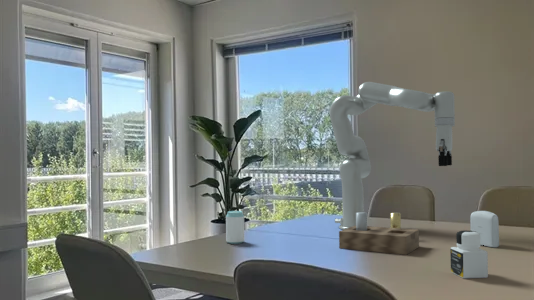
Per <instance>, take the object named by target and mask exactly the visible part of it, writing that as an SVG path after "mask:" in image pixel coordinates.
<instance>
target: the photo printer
mask: <svg viewBox="0 0 534 300" xmlns="http://www.w3.org/2000/svg"><path fill="white" fill-rule="evenodd" d="M469 220H470V225H469V226H470V230H469V231H476V232H478V233H479V234H480V246H483V245H484V246H483V247H489V248H498V247H499V246H500V229H499V228H500V227H499V217H498V215H497V214H495V213H494V212H491V211H487V210H477V211H473V212H471V214H470V217H469Z"/></svg>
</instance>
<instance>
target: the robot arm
mask: <svg viewBox="0 0 534 300" xmlns="http://www.w3.org/2000/svg"><path fill="white" fill-rule="evenodd" d="M377 104H381V105H385V106H391V107H401V108H405V109H411V110H416V111H420V112H425V113H430V112H434V127H436V131H435V150H436V151H437V152H438V158H437V159H438V166H439V167H448V166H452V165H453V164H452V163H453V161H452V160H453V159H452V158H453V156H452V150H453V127H456V126H455V125H456V121H455V120H456V117H455V115H456V114H455V93H454V92H452V91H438V92H435V93H428V92H425V91H420V90H414V89H408V88H402V87H398V86H396V85H391V84H385V83H379V82H374V81H365V82H363V83H362V84H360V85H359V87H358V94H357V95H356V96H352V95H347V94H346V95H340V96H337V97H336V98H335V99H334V100H333V102H332V103H331V105H330V108H329V119H330V123H331V126H332V130H333V134H334V139H335V143H336V148H337V151H338V152H339V153H338V154H340V155H342V156H345V157H348V158H346V159H345V160H343V161H342V163H341V164H340V168H339V175H340V180H341V195H342V199H341V200H342V201H341V203H342V207H341V208H342V217H341V218H335V219H334V223H335V224H340V225H338V227H339V229H340V230H344V229H347V228H350V227H352V226H355V225H356V213H357V212H365V199H364V198H365V193H364V184H363V179H365V178H367V177H368V176H369V175H370V174H371V171H372V164H371V163H372V162H371V160H370V155H369V151H368V148H367V144H366V143H365V141H364V139H363V138H362V137H361V136H359V135H355V133H354V130H353V125H352V122H351V121H350V118H349V116H359V115H362V114H363V113H365V112H366V111H368V110H369V109H371V108H372V107H374V106H375V105H377Z"/></svg>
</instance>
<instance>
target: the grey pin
mask: <svg viewBox="0 0 534 300" xmlns="http://www.w3.org/2000/svg"><path fill="white" fill-rule="evenodd" d="M367 226H368V212H365V211H364V212H357V213H356V230H360V231H367Z"/></svg>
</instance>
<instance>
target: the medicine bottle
mask: <svg viewBox="0 0 534 300" xmlns="http://www.w3.org/2000/svg"><path fill="white" fill-rule="evenodd" d="M455 240H456V246H451V247H450V273H452V274H453V275H455V276H458V277H460V278H462V279H464V280H466V279H485V278H486V279H487V278H488V277H489V268H488V267H489V266H488V265H489V262H488V261H489V259H488V255H489V254H488V251H486V250H485V249H482V248H481V245H480V234H479V233H478V232H476V231H471V230H459V231H457V232H456V239H455Z"/></svg>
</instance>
